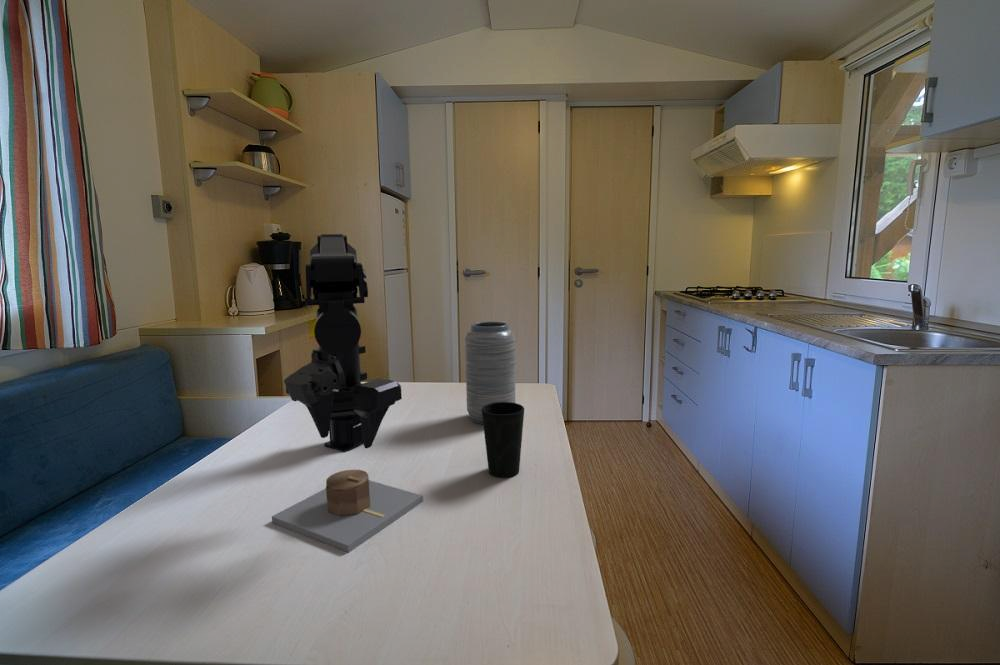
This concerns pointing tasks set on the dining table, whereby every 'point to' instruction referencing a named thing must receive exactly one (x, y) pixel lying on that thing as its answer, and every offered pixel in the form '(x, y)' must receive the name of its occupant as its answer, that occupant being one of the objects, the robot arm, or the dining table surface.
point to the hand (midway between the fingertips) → (345, 442)
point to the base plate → (347, 516)
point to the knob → (347, 492)
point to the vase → (489, 366)
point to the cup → (503, 437)
